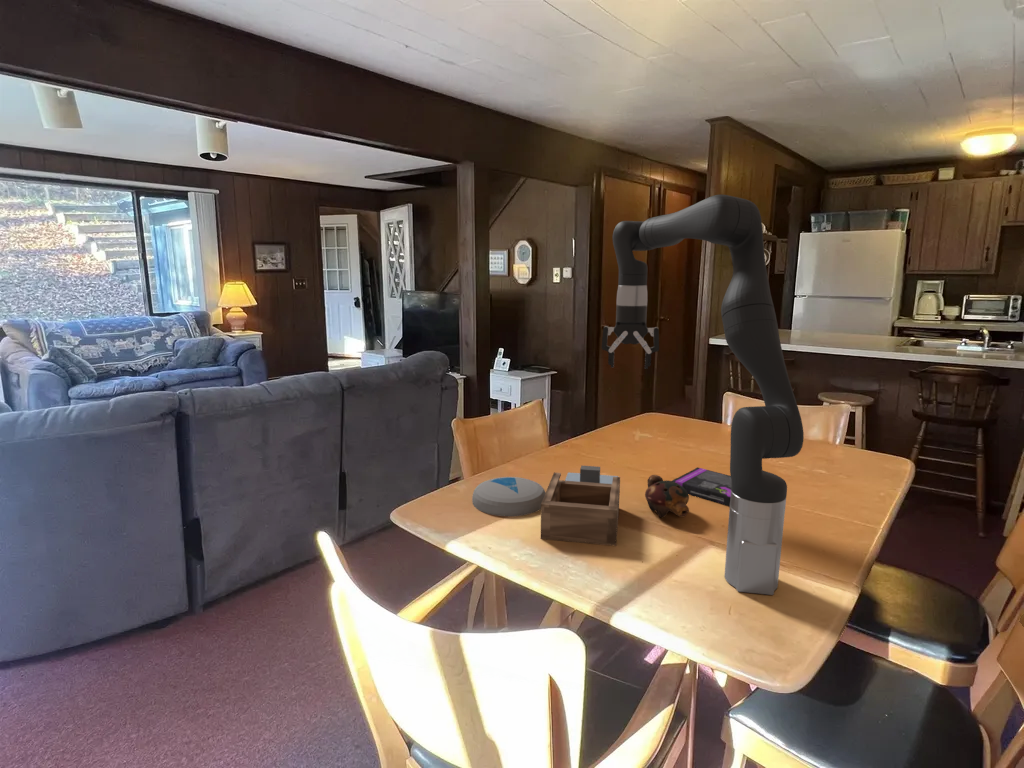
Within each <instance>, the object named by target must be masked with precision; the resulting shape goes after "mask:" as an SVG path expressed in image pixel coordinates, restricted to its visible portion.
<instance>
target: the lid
mask: <svg viewBox="0 0 1024 768" xmlns="http://www.w3.org/2000/svg"><path fill="white" fill-rule="evenodd" d="M580 466H581V467H580V469H579V472H567V474H566V477H565V480H564V481H577V482H590V483H604V484H612V481H613V477H619V476H618V475H607V474H601V466H595V465H593V466H592V465H580Z"/></svg>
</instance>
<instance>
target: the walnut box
mask: <svg viewBox="0 0 1024 768" xmlns="http://www.w3.org/2000/svg"><path fill="white" fill-rule="evenodd" d="M561 476H562V473H561V472H553V475H552V476H551V479H550V481H549V484H548V486H547V489H546V490H545V496H544V498H543V500H542V503H541V509H540V539H542V540H551V541H561V542H569V543H570V542H572V543H581V544H582V543H583V544H592V545H593V544H594V545H604V546H612V545H614V546H613V547H616V546H617V542H618V541H617V538H618V528H619V527H618V526H619V514H620V513H619V512H620V493H621V491H620V490H621V489H620V488H621V477H620V476H618V477H613V481H612V484H604V483H590V482H577V481H565V480H561Z"/></svg>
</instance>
